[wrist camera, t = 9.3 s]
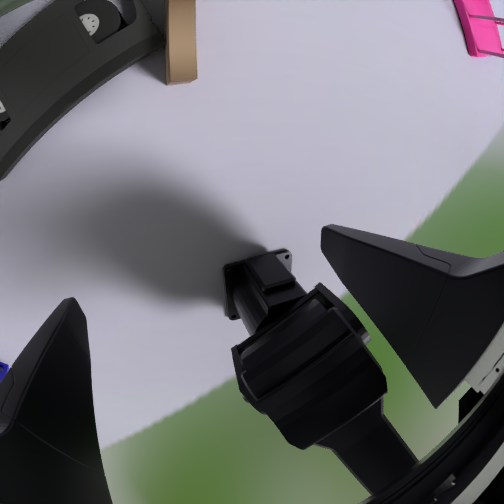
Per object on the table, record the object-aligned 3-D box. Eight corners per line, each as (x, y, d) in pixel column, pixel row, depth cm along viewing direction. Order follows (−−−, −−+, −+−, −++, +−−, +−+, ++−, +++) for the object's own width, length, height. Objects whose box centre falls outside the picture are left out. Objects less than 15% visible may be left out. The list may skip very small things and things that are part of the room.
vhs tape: (117, -24, 9) (116, -36, 7) (163, 48, 13) (166, 41, 12) (-34, 104, 8) (-47, 106, 7) (7, 175, 13) (-4, 183, 11)
